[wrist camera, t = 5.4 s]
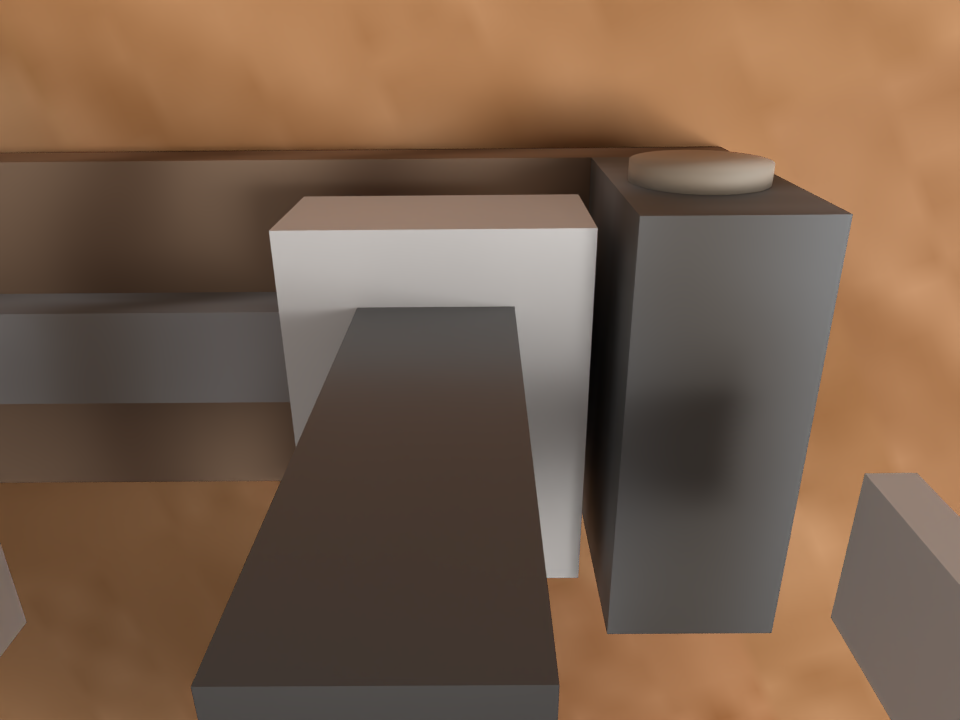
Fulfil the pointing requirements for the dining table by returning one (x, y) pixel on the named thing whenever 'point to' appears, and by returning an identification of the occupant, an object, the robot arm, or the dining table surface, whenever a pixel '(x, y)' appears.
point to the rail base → (424, 172)
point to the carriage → (417, 464)
